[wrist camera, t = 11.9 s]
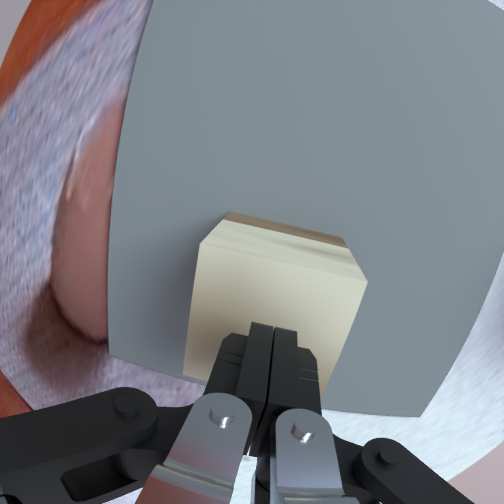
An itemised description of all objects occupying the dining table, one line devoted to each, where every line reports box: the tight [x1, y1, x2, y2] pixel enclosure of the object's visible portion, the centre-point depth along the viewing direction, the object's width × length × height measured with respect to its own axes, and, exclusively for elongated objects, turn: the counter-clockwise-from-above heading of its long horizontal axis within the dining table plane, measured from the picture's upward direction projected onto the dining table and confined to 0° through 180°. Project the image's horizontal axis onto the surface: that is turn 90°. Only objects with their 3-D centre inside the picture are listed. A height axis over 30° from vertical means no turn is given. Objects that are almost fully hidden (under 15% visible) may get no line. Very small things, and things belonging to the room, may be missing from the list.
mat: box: [108, 0, 504, 417], centre depth 16 cm, size 30×24×1 cm
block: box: [183, 212, 368, 398], centre depth 15 cm, size 6×6×6 cm
